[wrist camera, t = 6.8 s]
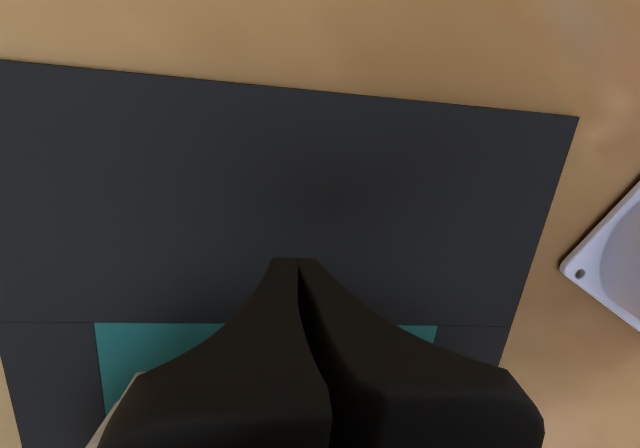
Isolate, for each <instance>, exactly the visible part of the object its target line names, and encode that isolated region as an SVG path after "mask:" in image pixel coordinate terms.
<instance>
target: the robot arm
mask: <svg viewBox="0 0 640 448" xmlns="http://www.w3.org/2000/svg"><path fill="white" fill-rule="evenodd" d="M559 269H560V272H561V273H562V274H563V275H564V276H566V277H567V278H568V279H570V280H571V281H572V282H574V283H575V284H576V285H578V286H579V287H580V288H582V289H583V290H584V291H586V292H587V293H588V294H590V295H591V296H592V297H594V298H595V299H596V300H598V301H599V302H600V303H601V304H603V305H604V306H605V307H607V308H608V309H609V310H611V311H612V312H613V313H615V314H616V315H617V316H619V317H620V318H621V319H623V320H624V321H625V322H627V323H628V324H629V325H631V326H632V327H633V328H635V329H636V330H637V331H639V332H640V181H639V182H638V183H637V184H636V185H635V186H634V187H633V188H632V189H631V190H630V191H629V192H628V193H627V194H626V195H625V196H624V198H623V199H622V200H621V201H620V202H619V203H618V204H617V205H616V206H615V207H614V208H613V209H612V210H611V211H610V212H609V213H608V214H607V215H606V216H605V217H604V218H603V219H602V221H601V222H600V223H599V224H598V225H597V226H596V227H595V228H594V229H593V230H592V231H591V232H590V233H589V234H588V235H587V236H586V237H585V238H584V239H583V240H582V241H581V242H580V244H579V245H578V246H577V247H576V248H575V249H574V250H573V251H572V252H571V253H570V254H569V255H568V256H567V257H566V258H565V259H564V260H563V261H562V263H561V264H560V268H559ZM578 270H579V271H578ZM577 271H578V273H576V272H577ZM544 435H545V430H544V420H543V418H542V416H541V414H540V412H539V410H538V409H537V407H536V406H535V404H534V403H533V402H532V400H531V399H530V398H529V397H528V395H527V394H526V393H525V392H524V390H523V389H522V388H521V386H520V385H519V384H518V383H517V381H516V380H515V379H514V378H513V376H512V375H511V374H510V373H509V372H508V370H506V369H503V368H500V367H497V366H493V365H490V364H487V363H484V362H481V361H478V360H475V359H471V358H468V357H465V356H462V355H460V354H457V353H454V352H452V351H450V350H447V349H445V348H442V347H440V346H437V345H435V344H433V343H430V342H428V341H426V340H424V339H422V338H420V337H418V336H416V335H414V334H412V333H410V332H408V331H406V330H404V329H402V328H400V327H399V326H397V325H395V324H393V323H392V322H390V321H389V320H387V319H386V318H384V317H382V316H381V315H379V314H378V313H376V312H375V311H373V310H372V309H371V308H369V307H368V306H366V305H365V304H364V303H363V302H361V301H360V300H359V299H358V298H356V297H355V296H354V295H353V294H352V293H350V292H349V291H348V290H347V289H346V288H345V287H344V286H343V285H342V284H341V283H339V282H338V281H337V280H336V279H335V278H334V277H333V276H332V275H331V274H330V273H329V272H328V271H327V270H326V269H325V268H324V267H323V266H322V264H321V263H320V262H319V261H318V260H317V259H311V258H276V257H274V258H273V259H271V260H270V263H269V266H268V269H267V271H266V273H265V275H264V277H263V279H262V280H261V282H260V283H259V285H258V287H257V288H256V290H255V291H254V292H253V294H252V295H251V296H250V298H249V299H248V300H247V301H246V303H245V304H244V305H243V306H242V307H241V309H240V310H239V311H238V312H237V313H236V314H235V315H234V316H233V317H232V318H231V319H230V320H229V321H228V322H227V323H226V324H225V325H223V326H222V327H221V328H220V329H219V330H218V331H216V332H215V333H214V334H213V335H211V336H210V337H209V338H207V339H206V340H205V341H203V342H201V343H200V344H198V345H197V346H195V347H194V348H192V349H190V350H189V351H187V352H185V353H184V354H182V355H180V356H178V357H176V358H174V359H172V360H170V361H168V362H166V363H164V364H162V365H160V366H158V367H156V368H153V369H151V370H149V371H147V372H145V373H142V374H140V375H138V376H137V377H136V378H135V380H134V381H133V382H132V384H131V385H130V387H129V389H128V390H127V392H126V393H125V395H124V396H123V398H122V399H121V401H120V403H119V405H118V406H117V408H116V409H115V411H114V412H113V414H112V416H111V418H110V420H109V421H108V423H107V425H106V427H105V429H104V432H103V434H102V436H101V439H100V441H99V443H98V446H97V448H541V447H542V443H543V439H544Z"/></svg>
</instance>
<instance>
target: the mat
mask: <svg viewBox="0 0 640 448" xmlns="http://www.w3.org/2000/svg"><path fill="white" fill-rule="evenodd" d="M578 121H579V117H577V116H569V115H559V114H549V113H539V112H529V111H519V110H508V109H498V108H488V107H478V106H468V105H458V104H448V103H437V102H427V101H417V100H407V99H397V98H387V97H377V96H366V95H356V94H346V93H336V92H326V91H316V90H305V89H295V88H285V87H275V86H265V85H255V84H245V83H234V82H224V81H214V80H204V79H194V78H184V77H174V76H163V75H153V74H143V73H133V72H123V71H113V70H102V69H92V68H82V67H72V66H62V65H52V64H42V63H31V62H21V61H11V60H1V59H0V356H1V360H2V364H3V368H4V372H5V377H6V381H7V385H8V389H9V393H10V398H11V402H12V406H13V410H14V414H15V419H16V423H17V427H18V431H19V435H20V440H21V444H22V448H86V446H87V445H88V443H89V442H90V440H91V439H92V437H93V436H94V434H95V433H96V431H97V430H98V428H99V427H100V425H101V424H102V422H103V421H104V419H105V418H106V416H107V415H108V413H109V412H110V410H111V409H112V407H113V406H114V405H115V403H116V402H117V401H119V400H120V398H121V396H122V395H123V393H124V391H125V390H126V388H127V387H128V385H129V383H130V382H131V380H132V379H133V377H134V375H135V374H136V372H145V371H149V370H151V369H153V368H156V367H158V366H160V365H162V364H164V363H166V362H168V361H170V360H172V359H174V358H176V357H178V356H180V355H182V354H184V353H185V352H187V351H189V350H190V349H192V348H194V347H195V346H197V345H198V344H200V343H201V342H203V341H205V340H206V339H207V338H209V337H210V336H211V335H213V334H214V333H215V332H216V331H218V330H219V329H220V328H221V327H222V326H223V325H225V324H226V323H227V322H228V321H229V320H230V319H231V318H232V317H233V316H234V315H235V314H236V313H237V312H238V311H239V310H240V309H241V307H242V306H243V305H244V304H245V303H246V301H247V300H248V299H249V298H250V296H251V295H252V294H253V292H254V291H255V290H256V288H257V287H258V285H259V283H260V282H261V280H262V279H263V277H264V275H265V273H266V271H267V269H268V266H269V263H270V260H271V259H273V258H274V257H276V258H311V259H317V260H318V261H319V262H320V263H321V264H322V266H323V267H324V268H325V269H326V270H327V271H328V272H329V273H330V274H331V275H332V276H333V277H334V278H335V279H336V280H337V281H338V282H339V283H341V284H342V285H343V286H344V287H345V288H346V289H347V290H348V291H349V292H350V293H352V294H353V295H354V296H355V297H356V298H358V299H359V300H360V301H361V302H363V303H364V304H365V305H366V306H368V307H369V308H371V309H372V310H373V311H375V312H376V313H378V314H379V315H381V316H382V317H384V318H386V319H387V320H389V321H390V322H392V323H393V324H395V325H397V326H399V327H400V328H402V329H404V330H406V331H408V332H410V333H412V334H414V335H416V336H418V337H420V338H422V339H424V340H426V341H428V342H430V343H433V344H435V345H437V346H440V347H442V348H445V349H447V350H450V351H452V352H454V353H457V354H460V355H462V356H465V357H468V358H471V359H475V360H478V361H481V362H484V363H487V364H490V365H493V366H497V367H498V365H499V362H500V359H501V356H502V353H503V350H504V347H505V344H506V341H507V337H508V334H509V331H510V328H511V325H512V322H513V319H514V316H515V313H516V310H517V307H518V304H519V301H520V298H521V295H522V292H523V289H524V286H525V283H526V280H527V276H528V273H529V270H530V267H531V264H532V261H533V258H534V255H535V252H536V249H537V246H538V243H539V240H540V237H541V234H542V231H543V228H544V225H545V222H546V218H547V215H548V212H549V209H550V206H551V203H552V200H553V197H554V194H555V191H556V188H557V185H558V182H559V179H560V176H561V173H562V170H563V167H564V164H565V160H566V157H567V154H568V151H569V148H570V145H571V142H572V139H573V136H574V133H575V130H576V127H577V124H578Z"/></svg>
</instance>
